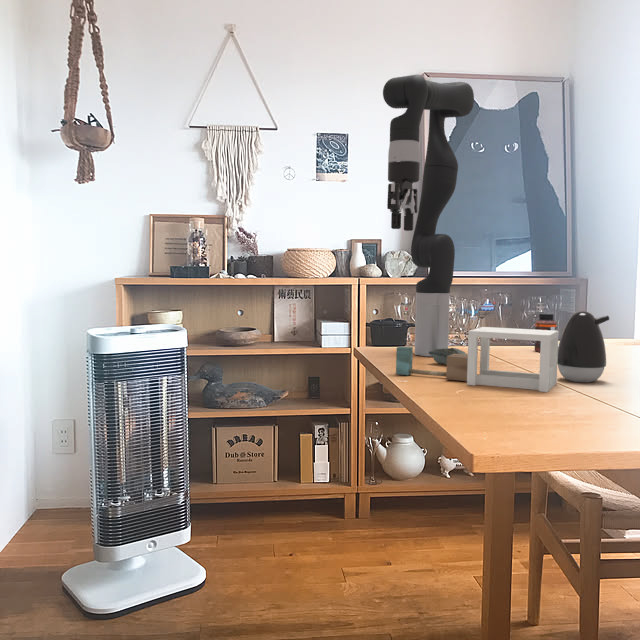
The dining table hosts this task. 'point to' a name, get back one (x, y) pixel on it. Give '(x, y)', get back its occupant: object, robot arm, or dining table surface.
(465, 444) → the dining table surface
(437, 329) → the robot arm
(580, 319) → the pump dispenser
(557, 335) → the white open frame stand
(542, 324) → the supplement bottle
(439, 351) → the stone
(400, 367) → the tethered block
